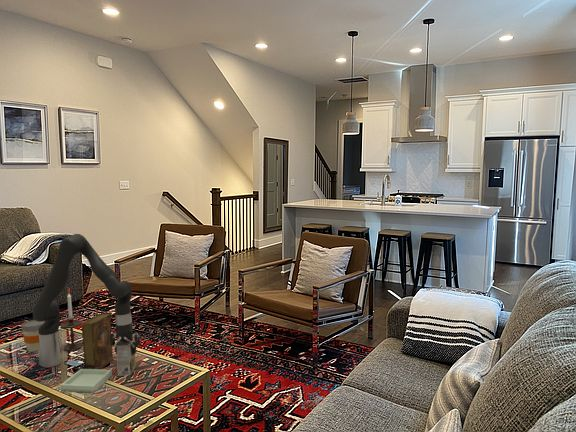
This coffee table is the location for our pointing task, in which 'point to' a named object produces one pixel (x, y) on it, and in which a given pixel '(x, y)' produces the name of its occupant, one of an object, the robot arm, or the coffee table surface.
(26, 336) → the reusable coffee cup
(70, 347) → the candlestick
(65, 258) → the robot arm
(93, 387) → the tray
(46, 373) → the coffee table surface
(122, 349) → the coffee box
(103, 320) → the book
